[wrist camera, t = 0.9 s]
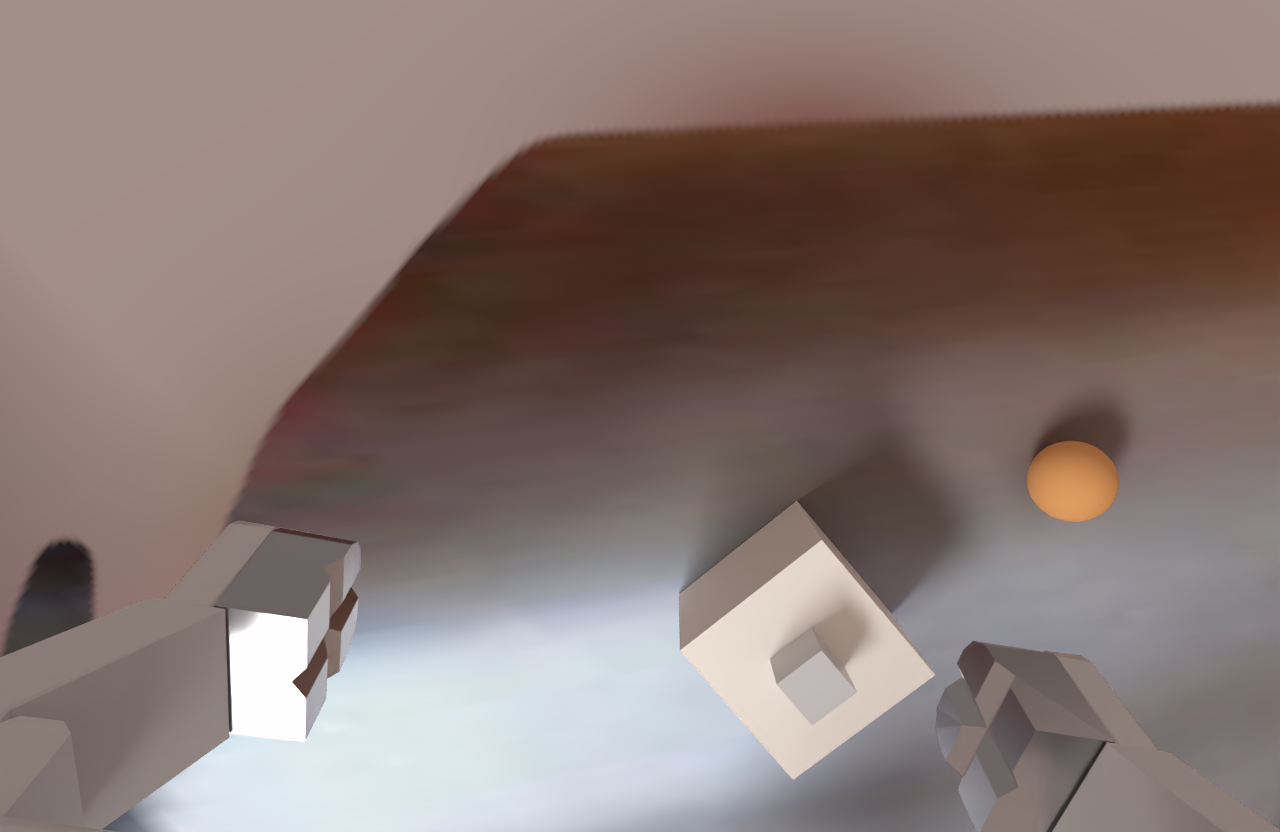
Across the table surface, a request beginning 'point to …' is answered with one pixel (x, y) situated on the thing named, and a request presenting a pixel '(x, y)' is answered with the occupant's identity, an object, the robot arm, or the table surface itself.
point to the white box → (797, 641)
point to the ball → (1072, 481)
